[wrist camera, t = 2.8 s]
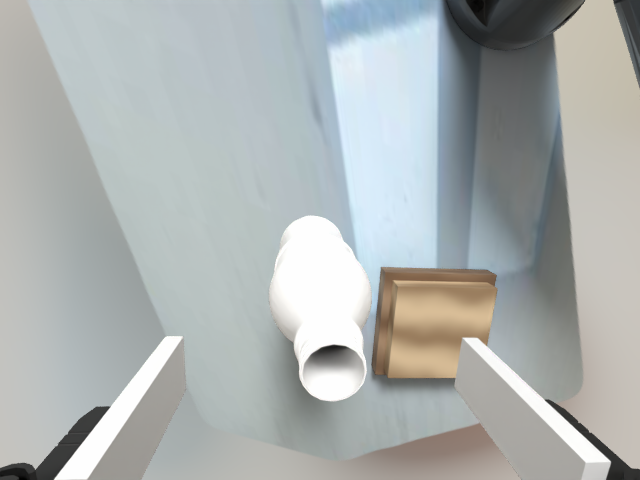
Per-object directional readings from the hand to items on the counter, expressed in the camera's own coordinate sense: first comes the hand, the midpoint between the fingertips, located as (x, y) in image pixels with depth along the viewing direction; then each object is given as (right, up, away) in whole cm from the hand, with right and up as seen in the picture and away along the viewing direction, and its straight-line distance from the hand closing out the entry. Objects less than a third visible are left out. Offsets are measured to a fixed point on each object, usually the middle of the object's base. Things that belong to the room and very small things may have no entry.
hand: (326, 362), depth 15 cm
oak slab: (+14, -5, +25) cm, 29 cm away
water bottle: (-1, +6, +23) cm, 24 cm away
